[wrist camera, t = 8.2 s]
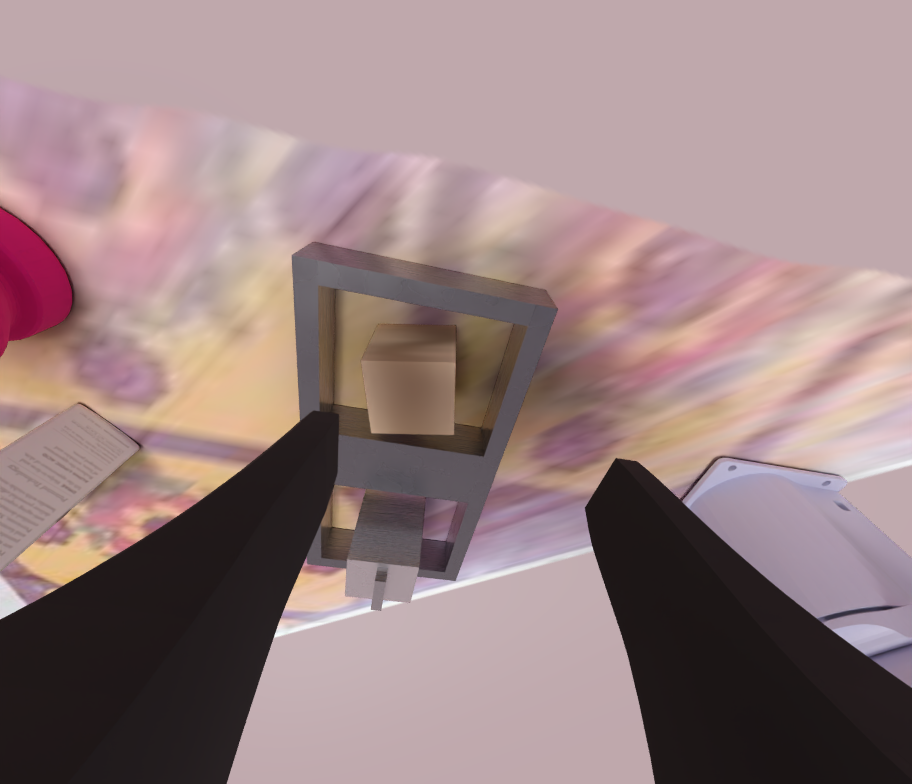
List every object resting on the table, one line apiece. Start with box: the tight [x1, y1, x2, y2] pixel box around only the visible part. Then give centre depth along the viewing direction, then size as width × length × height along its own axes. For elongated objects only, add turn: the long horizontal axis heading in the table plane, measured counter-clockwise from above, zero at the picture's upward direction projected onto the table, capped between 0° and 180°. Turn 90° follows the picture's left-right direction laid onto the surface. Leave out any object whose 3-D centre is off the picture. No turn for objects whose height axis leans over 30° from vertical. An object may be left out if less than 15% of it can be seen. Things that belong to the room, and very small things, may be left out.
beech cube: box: [361, 324, 456, 435], centre depth 18 cm, size 4×4×4 cm
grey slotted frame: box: [292, 242, 558, 581], centre depth 22 cm, size 11×22×2 cm, turn 169°
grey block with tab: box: [345, 489, 426, 611], centre depth 23 cm, size 4×4×7 cm
